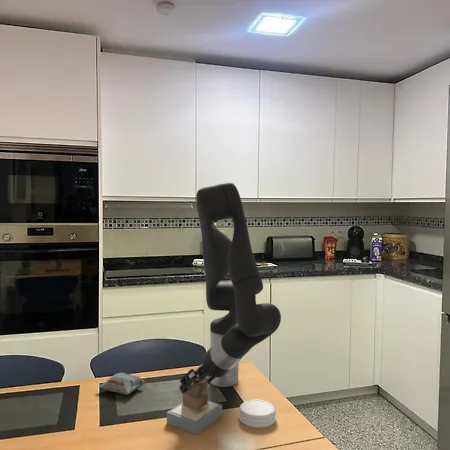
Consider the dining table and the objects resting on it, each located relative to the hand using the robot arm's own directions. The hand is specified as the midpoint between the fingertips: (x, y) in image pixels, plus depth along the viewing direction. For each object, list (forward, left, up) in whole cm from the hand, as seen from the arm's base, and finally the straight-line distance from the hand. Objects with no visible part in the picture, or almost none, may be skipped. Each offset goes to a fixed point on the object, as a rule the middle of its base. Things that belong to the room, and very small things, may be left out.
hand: (193, 385), depth 116 cm
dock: (0, 0, -9) cm, 9 cm away
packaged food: (-1, -29, -10) cm, 31 cm away
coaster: (-10, +15, -10) cm, 20 cm away
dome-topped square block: (0, +1, -6) cm, 6 cm away
